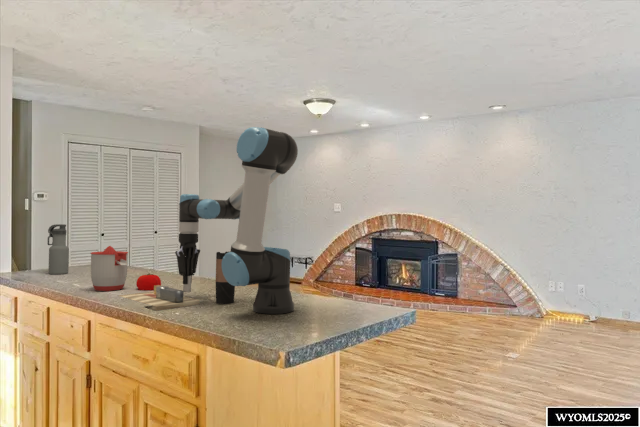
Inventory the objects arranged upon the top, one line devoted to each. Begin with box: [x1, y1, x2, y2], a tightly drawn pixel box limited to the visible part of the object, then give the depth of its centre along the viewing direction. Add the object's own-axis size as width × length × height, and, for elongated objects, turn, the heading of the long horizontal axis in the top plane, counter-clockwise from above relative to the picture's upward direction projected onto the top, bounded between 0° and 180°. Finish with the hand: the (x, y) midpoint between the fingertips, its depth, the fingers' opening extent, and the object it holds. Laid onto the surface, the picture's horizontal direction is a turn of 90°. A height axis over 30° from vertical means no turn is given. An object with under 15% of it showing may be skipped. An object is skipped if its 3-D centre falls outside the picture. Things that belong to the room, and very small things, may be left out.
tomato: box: [135, 272, 162, 292], centre depth 199 cm, size 9×10×8 cm
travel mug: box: [215, 251, 236, 305], centre depth 179 cm, size 8×8×20 cm
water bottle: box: [47, 223, 70, 276], centre depth 256 cm, size 10×10×28 cm
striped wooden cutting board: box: [117, 290, 201, 312], centre depth 178 cm, size 31×18×2 cm, turn 49°
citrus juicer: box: [90, 245, 129, 293], centre depth 205 cm, size 16×17×20 cm
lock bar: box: [156, 285, 185, 303], centre depth 174 cm, size 16×5×4 cm, turn 49°
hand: (187, 291), depth 180 cm, fingers closed
